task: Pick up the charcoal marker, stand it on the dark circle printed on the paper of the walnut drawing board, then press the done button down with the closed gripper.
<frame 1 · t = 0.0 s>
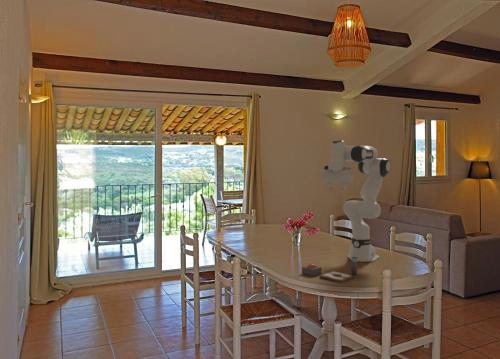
hand: (337, 189, 259), 48 cm above the table, tool pointing down, fingers open, 8 cm apart
done button: (311, 266, 248), point 4 cm above the table, slide at 0.0 cm
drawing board: (336, 277, 241), on the table
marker: (354, 274, 247), on the table
button housing: (311, 273, 249), on the table
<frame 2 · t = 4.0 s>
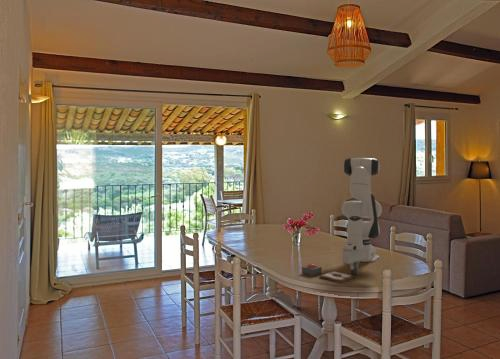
hand: (354, 268, 246), 4 cm above the table, tool pointing down, fingers closed on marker, 3 cm apart
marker: (354, 274, 247), on the table, touching gripper
everything else where it was.
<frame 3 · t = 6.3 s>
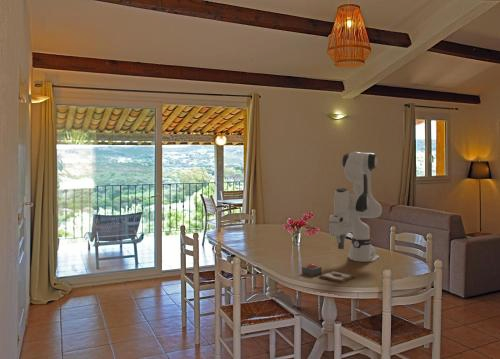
hand: (340, 242, 240), 20 cm above the table, tool pointing down, fingers closed on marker, 3 cm apart
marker: (340, 248, 240), point 17 cm above the table, touching gripper
everything else where it was.
when the fingers open (6 cm above the table, at t = 8.5 s): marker stays where it is, resting on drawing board.
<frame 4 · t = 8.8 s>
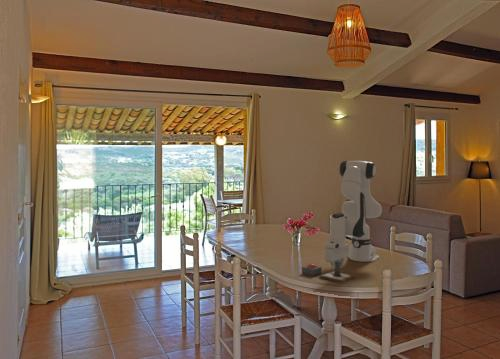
hand: (337, 267, 240), 6 cm above the table, tool pointing down, fingers open, 6 cm apart
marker: (337, 275, 241), point 2 cm above the table, touching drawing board
everything else where it was.
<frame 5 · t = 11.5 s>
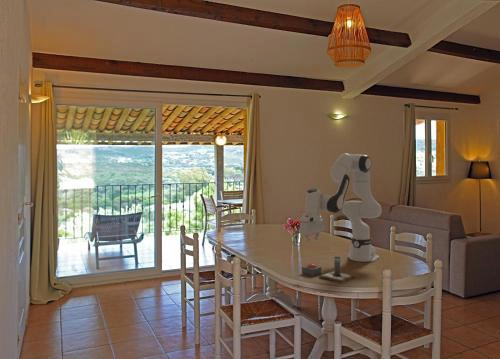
hand: (312, 241, 247), 19 cm above the table, tool pointing down, fingers open, 6 cm apart
nothing on the table moved.
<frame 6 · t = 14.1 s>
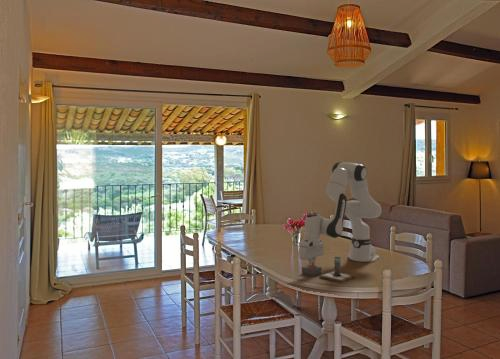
hand: (311, 265, 248), 5 cm above the table, tool pointing down, fingers closed, pressing on done button
done button: (311, 267, 248), point 4 cm above the table, slide at 0.4 cm, touching gripper
everything else where it was.
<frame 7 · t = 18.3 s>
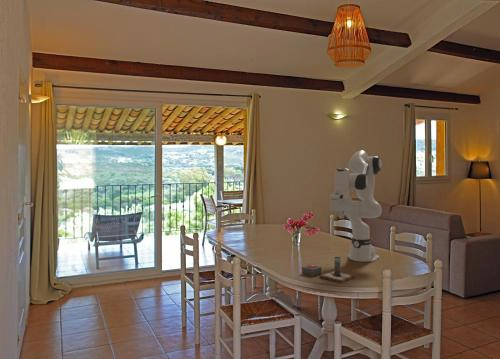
hand: (341, 218, 257), 31 cm above the table, tool pointing down, fingers closed
done button: (311, 268, 248), point 3 cm above the table, slide at 0.7 cm
everything else where it was.
at the end: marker 0.1 cm off-centre on the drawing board, point 1.5 cm above the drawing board's base; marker tilted 0°; done button slide at 0.7 cm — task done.
